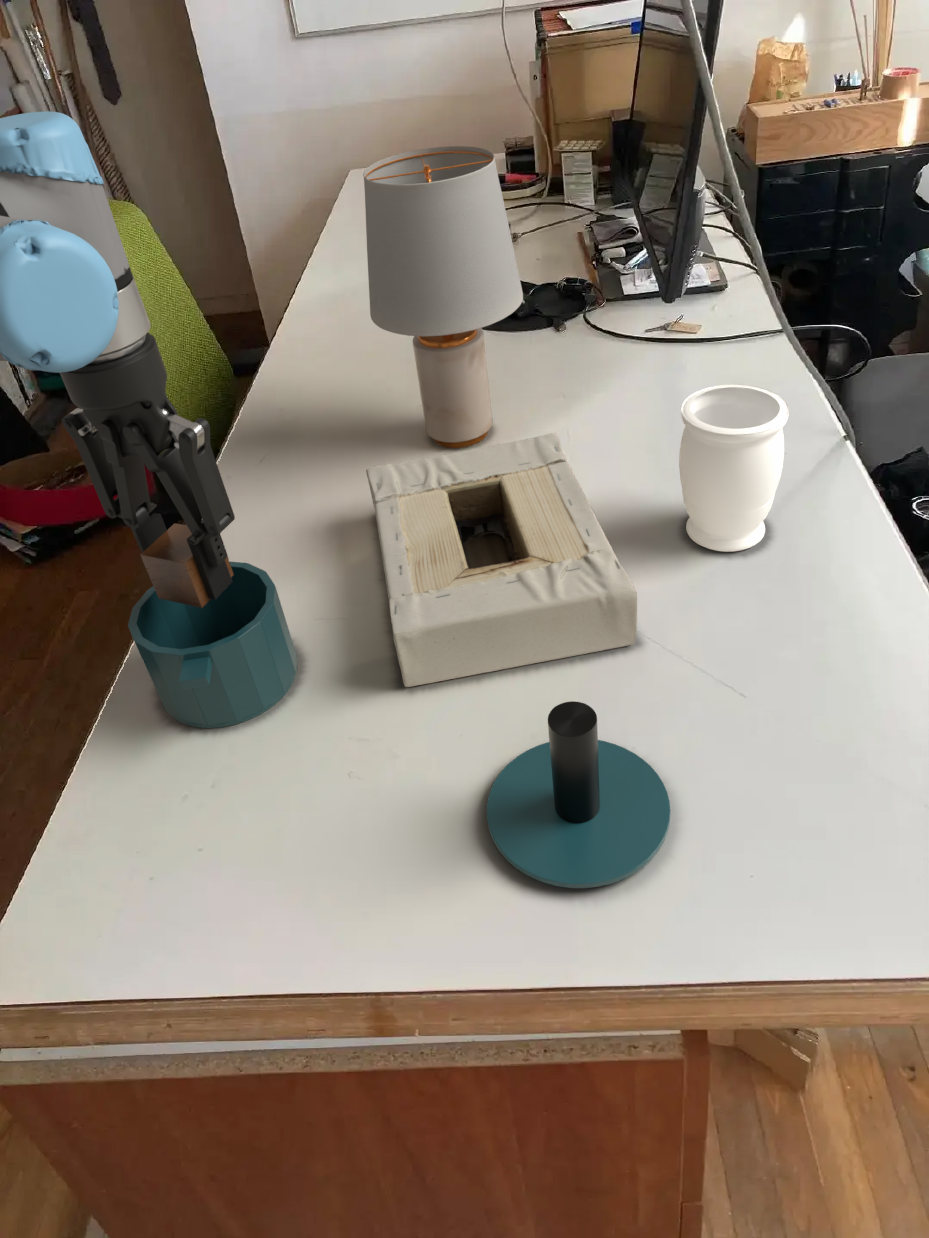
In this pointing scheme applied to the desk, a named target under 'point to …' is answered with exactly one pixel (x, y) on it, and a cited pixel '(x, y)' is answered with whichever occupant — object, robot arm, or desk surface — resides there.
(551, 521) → the box
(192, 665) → the pot
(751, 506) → the jar
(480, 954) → the desk surface
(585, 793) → the lid
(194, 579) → the block
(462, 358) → the lamp
